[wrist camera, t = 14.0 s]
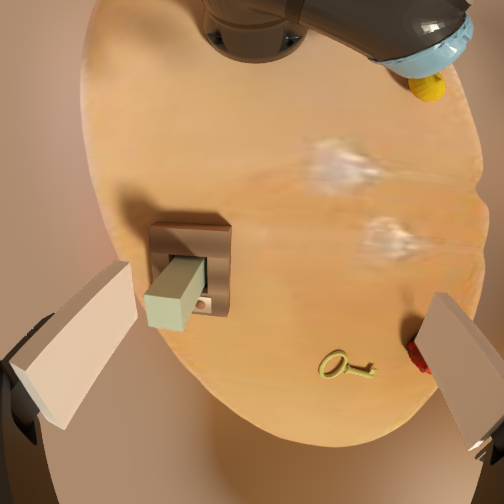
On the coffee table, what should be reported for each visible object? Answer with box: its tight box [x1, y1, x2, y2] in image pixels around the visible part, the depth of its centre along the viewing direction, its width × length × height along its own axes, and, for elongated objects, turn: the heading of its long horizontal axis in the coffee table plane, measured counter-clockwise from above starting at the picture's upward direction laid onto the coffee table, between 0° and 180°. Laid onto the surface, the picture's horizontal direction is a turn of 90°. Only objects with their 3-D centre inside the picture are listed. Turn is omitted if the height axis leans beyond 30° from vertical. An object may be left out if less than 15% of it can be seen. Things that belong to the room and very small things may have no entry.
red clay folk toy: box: [407, 336, 432, 374], centre depth 39 cm, size 8×7×15 cm
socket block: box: [148, 222, 232, 317], centre depth 41 cm, size 14×12×3 cm
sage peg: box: [144, 255, 207, 332], centre depth 36 cm, size 4×4×14 cm
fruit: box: [408, 72, 446, 102], centre depth 27 cm, size 6×6×8 cm
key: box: [319, 351, 377, 379], centre depth 48 cm, size 7×12×2 cm, turn 88°
